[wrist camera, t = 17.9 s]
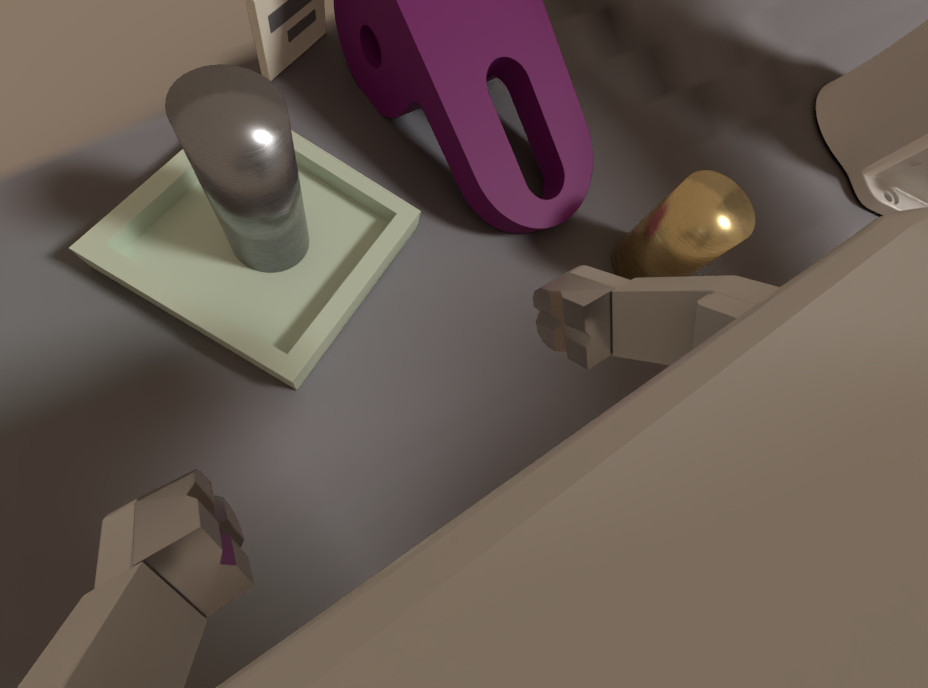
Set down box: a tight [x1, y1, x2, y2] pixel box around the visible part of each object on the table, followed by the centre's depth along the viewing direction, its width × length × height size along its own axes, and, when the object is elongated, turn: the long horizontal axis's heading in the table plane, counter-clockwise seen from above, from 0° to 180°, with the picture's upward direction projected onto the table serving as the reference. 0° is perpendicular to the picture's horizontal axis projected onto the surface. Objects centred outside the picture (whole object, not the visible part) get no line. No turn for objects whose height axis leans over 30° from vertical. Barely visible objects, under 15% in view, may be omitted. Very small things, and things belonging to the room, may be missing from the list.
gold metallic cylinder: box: [612, 170, 755, 280], centre depth 27 cm, size 5×5×7 cm
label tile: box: [246, 0, 326, 81], centre depth 27 cm, size 1×6×5 cm, turn 151°
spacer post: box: [165, 65, 309, 273], centre depth 20 cm, size 4×4×9 cm
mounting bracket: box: [334, 0, 593, 234], centre depth 29 cm, size 9×8×18 cm
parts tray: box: [69, 130, 421, 390], centre depth 24 cm, size 12×12×2 cm
